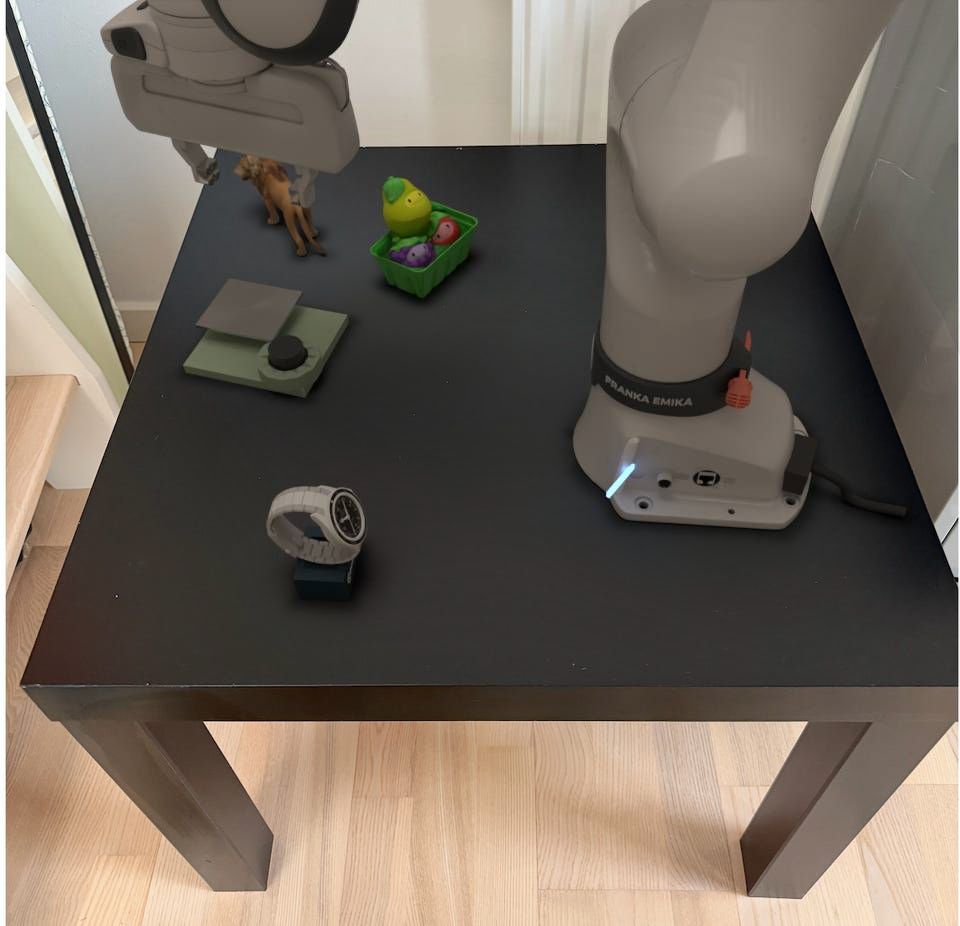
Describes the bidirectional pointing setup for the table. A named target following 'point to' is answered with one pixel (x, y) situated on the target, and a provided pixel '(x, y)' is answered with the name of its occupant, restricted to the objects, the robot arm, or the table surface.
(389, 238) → the fruit basket
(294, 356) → the knob
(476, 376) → the table surface
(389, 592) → the table surface
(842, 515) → the table surface
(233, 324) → the weigh plate
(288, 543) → the watch
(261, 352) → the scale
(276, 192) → the lion figurine
